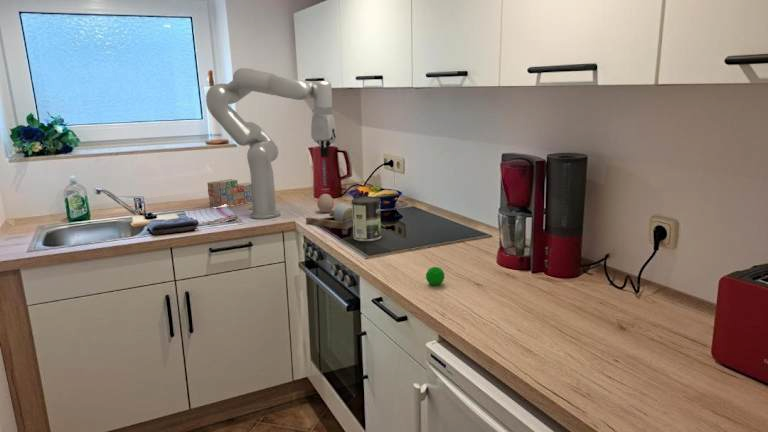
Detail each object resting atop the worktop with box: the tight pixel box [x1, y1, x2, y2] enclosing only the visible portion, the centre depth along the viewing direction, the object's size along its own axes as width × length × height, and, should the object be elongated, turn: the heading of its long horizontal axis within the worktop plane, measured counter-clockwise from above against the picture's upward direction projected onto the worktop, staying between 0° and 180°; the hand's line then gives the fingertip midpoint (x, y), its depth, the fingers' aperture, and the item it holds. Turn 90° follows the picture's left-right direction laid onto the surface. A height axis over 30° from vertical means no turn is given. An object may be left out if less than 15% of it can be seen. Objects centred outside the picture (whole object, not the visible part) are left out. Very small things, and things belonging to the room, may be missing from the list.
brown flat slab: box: [305, 209, 353, 230], centre depth 222 cm, size 20×16×3 cm
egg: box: [317, 193, 335, 214], centre depth 239 cm, size 7×7×8 cm
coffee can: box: [351, 196, 382, 242], centre depth 196 cm, size 10×10×14 cm
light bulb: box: [332, 202, 353, 222], centre depth 220 cm, size 11×8×8 cm
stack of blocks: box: [207, 178, 253, 208], centre depth 262 cm, size 21×6×12 cm, turn 133°
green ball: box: [425, 266, 445, 286], centre depth 149 cm, size 5×5×5 cm
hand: (325, 156), depth 227 cm, fingers closed
